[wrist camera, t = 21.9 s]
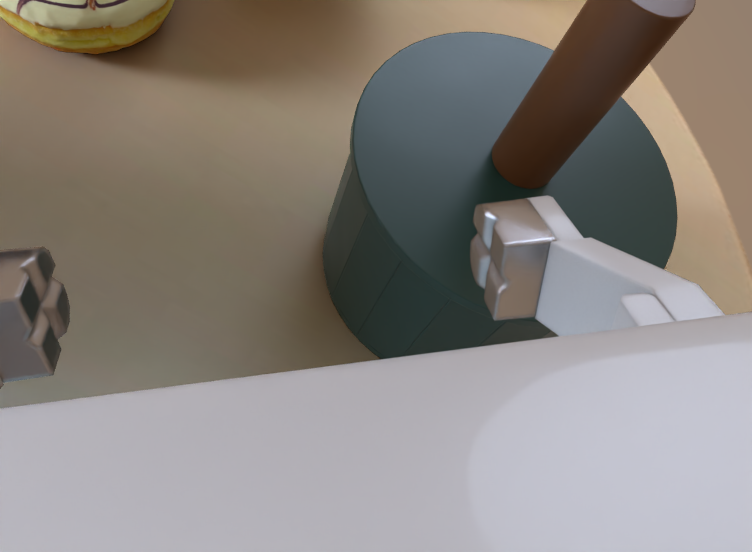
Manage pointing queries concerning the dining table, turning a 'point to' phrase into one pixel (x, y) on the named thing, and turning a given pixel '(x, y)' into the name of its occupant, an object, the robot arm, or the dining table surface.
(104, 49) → the decorated donut
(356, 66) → the dining table surface
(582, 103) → the lid
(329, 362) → the dining table surface
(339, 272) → the pot
